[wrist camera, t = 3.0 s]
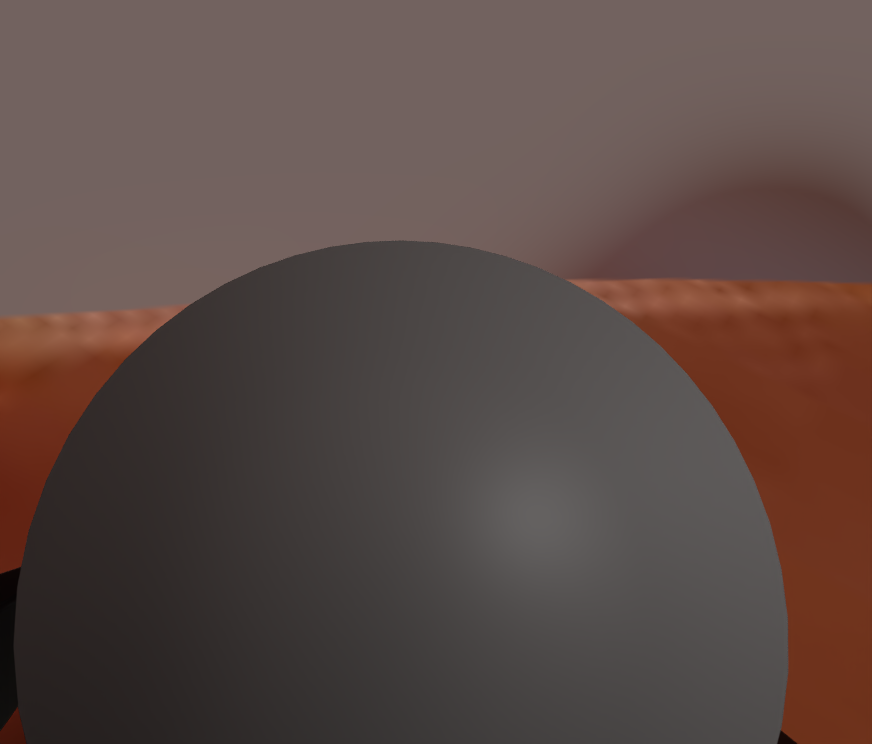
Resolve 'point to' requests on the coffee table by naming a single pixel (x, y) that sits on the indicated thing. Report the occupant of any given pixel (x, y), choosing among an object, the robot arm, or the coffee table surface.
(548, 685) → the carriage
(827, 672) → the coffee table surface
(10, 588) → the robot arm
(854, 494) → the coffee table surface
